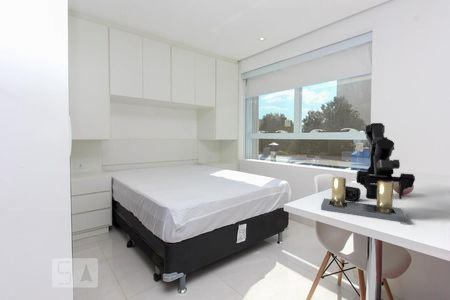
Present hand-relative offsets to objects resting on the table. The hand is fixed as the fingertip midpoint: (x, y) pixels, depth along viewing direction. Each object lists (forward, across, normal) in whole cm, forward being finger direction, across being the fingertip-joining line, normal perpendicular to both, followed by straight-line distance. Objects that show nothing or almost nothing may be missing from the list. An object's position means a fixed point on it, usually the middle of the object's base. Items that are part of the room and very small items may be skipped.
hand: (385, 196), depth 85 cm
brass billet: (+4, 0, +6) cm, 8 cm away
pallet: (+4, -8, +7) cm, 11 cm away
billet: (+4, -16, +7) cm, 18 cm away
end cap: (-9, -12, +21) cm, 26 cm away
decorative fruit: (-26, +14, +38) cm, 48 cm away
